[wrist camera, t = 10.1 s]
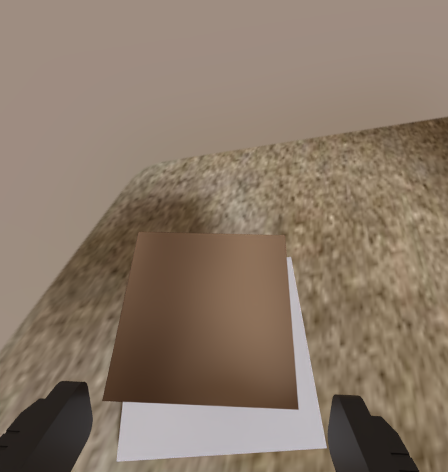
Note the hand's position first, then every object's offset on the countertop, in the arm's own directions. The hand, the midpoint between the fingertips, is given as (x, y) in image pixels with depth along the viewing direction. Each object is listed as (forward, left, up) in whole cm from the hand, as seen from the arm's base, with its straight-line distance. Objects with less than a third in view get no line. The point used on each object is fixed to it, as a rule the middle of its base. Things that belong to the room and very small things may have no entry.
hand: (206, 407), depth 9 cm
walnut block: (0, -3, -9) cm, 10 cm away
